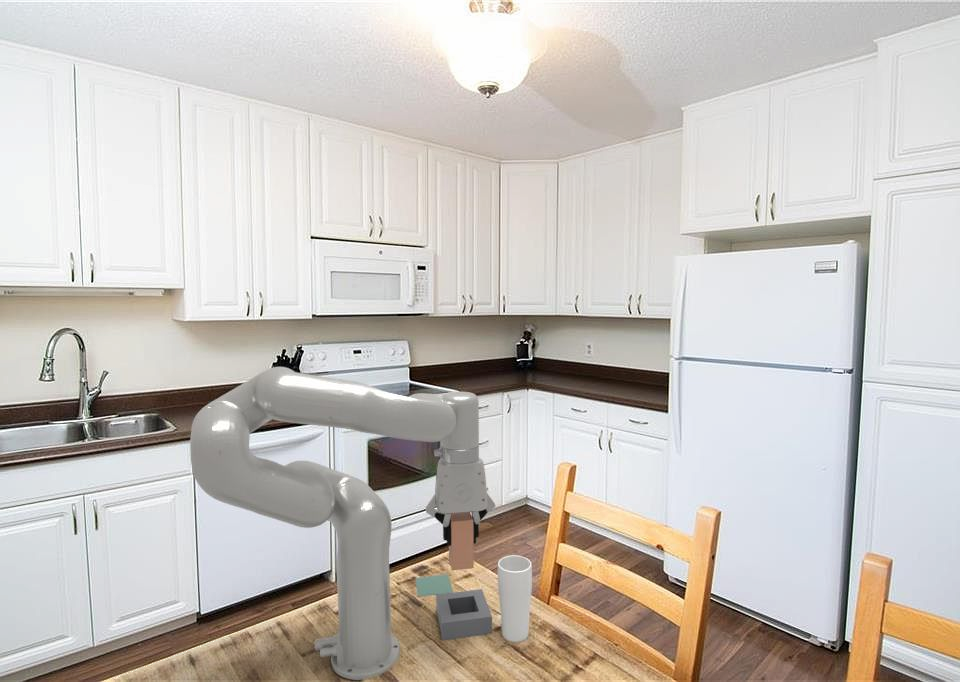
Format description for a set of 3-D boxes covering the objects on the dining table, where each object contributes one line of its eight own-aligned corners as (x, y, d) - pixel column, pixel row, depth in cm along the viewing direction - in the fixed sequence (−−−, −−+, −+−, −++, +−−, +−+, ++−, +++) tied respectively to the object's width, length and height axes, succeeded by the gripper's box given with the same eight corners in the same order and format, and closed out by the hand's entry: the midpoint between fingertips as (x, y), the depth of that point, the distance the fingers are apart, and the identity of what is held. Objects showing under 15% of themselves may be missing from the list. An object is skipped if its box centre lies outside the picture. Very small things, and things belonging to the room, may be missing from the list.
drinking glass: (530, 649, 100) (530, 573, 98) (495, 644, 101) (494, 570, 100) (533, 627, 106) (533, 556, 105) (501, 623, 108) (500, 553, 106)
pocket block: (442, 642, 102) (441, 623, 102) (436, 612, 112) (436, 594, 111) (492, 635, 104) (491, 616, 103) (482, 606, 114) (481, 589, 113)
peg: (451, 570, 104) (451, 521, 103) (448, 559, 108) (448, 512, 107) (473, 568, 105) (473, 519, 104) (469, 557, 109) (469, 511, 108)
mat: (417, 598, 117) (417, 596, 117) (415, 579, 125) (415, 577, 125) (453, 594, 118) (453, 592, 118) (448, 576, 126) (448, 574, 126)
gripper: (419, 462, 99) (420, 554, 101) (505, 456, 103) (505, 546, 104) (416, 451, 107) (417, 537, 108) (496, 446, 110) (497, 530, 111)
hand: (460, 540), depth 106 cm, fingers closed on peg, 4 cm apart
